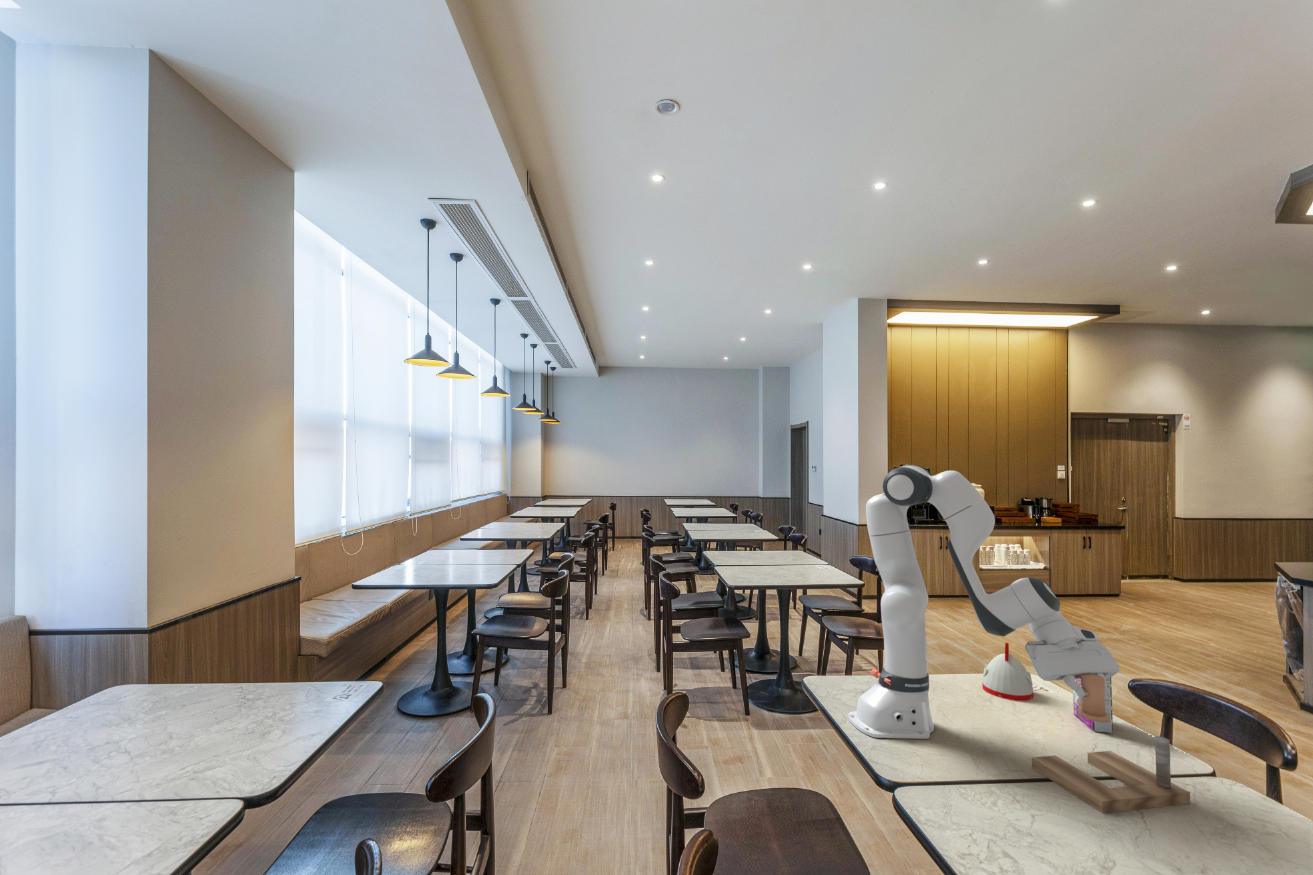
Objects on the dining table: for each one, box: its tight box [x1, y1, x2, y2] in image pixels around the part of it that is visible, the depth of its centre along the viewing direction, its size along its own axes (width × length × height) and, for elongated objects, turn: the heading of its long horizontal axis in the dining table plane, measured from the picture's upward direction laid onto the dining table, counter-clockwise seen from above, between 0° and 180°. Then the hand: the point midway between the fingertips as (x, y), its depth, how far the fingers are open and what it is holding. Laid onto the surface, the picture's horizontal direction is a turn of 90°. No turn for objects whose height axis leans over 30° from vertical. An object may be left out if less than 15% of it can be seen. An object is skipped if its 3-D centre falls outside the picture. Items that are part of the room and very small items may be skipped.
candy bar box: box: [1072, 677, 1114, 734], centre depth 162 cm, size 11×5×16 cm, turn 168°
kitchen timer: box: [981, 642, 1034, 702], centre depth 184 cm, size 14×14×15 cm
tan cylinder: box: [1078, 674, 1110, 722], centre depth 134 cm, size 6×6×9 cm
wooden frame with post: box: [1031, 735, 1191, 814], centre depth 131 cm, size 22×18×12 cm
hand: (1095, 695), depth 133 cm, fingers closed on tan cylinder, 4 cm apart
